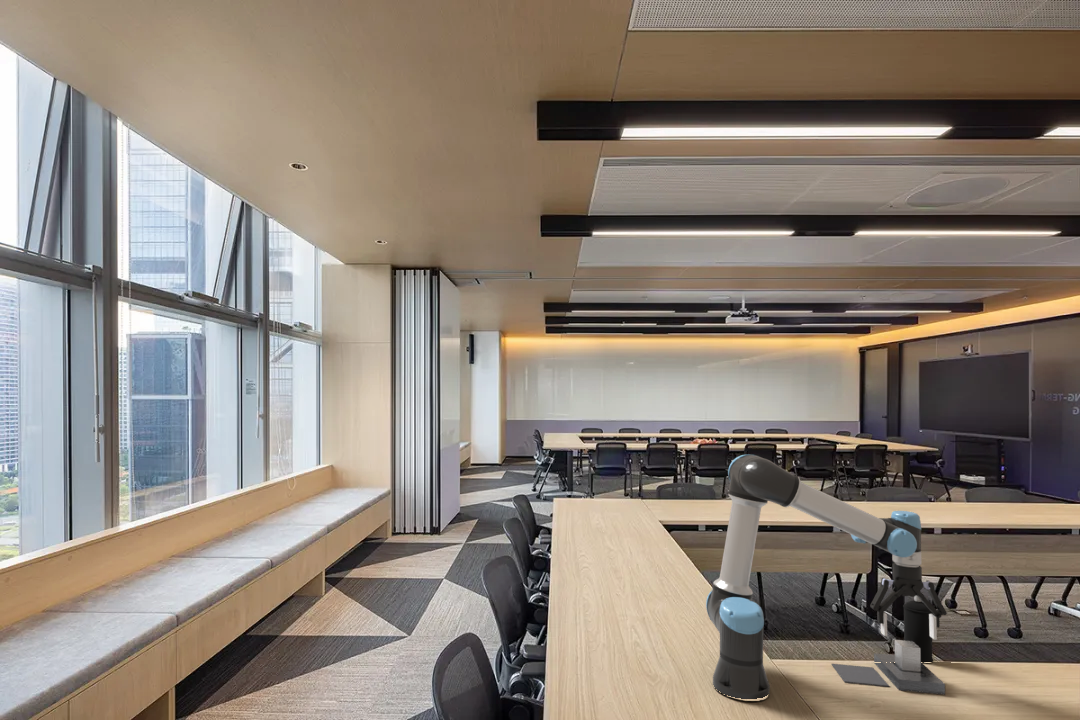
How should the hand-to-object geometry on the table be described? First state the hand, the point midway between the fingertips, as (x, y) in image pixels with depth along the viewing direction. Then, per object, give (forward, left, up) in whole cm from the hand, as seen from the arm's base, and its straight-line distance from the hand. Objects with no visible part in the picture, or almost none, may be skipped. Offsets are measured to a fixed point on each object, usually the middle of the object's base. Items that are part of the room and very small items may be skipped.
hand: (908, 636), depth 180 cm
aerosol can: (+10, +16, -12) cm, 23 cm away
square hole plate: (0, 0, -12) cm, 12 cm away
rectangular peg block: (0, 0, -12) cm, 12 cm away
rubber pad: (-14, -2, -12) cm, 19 cm away
